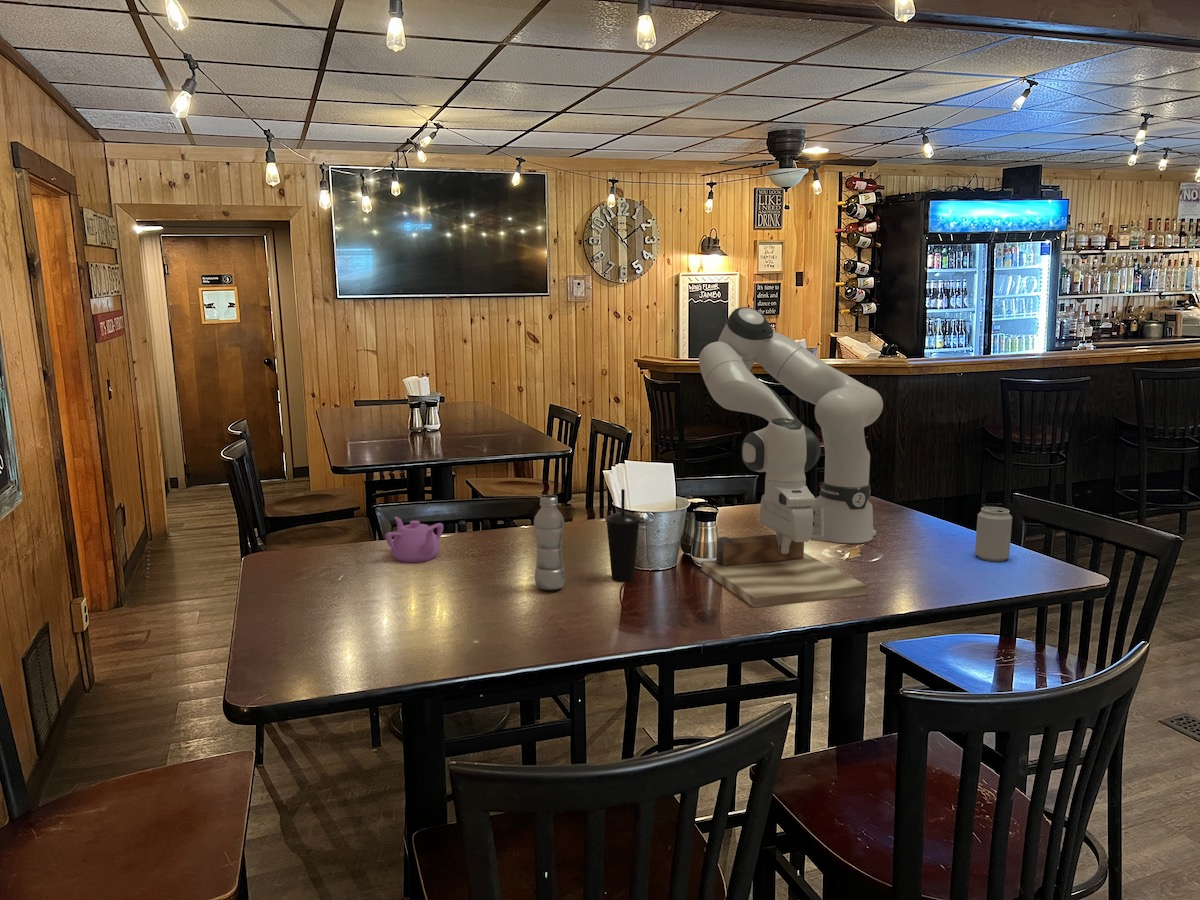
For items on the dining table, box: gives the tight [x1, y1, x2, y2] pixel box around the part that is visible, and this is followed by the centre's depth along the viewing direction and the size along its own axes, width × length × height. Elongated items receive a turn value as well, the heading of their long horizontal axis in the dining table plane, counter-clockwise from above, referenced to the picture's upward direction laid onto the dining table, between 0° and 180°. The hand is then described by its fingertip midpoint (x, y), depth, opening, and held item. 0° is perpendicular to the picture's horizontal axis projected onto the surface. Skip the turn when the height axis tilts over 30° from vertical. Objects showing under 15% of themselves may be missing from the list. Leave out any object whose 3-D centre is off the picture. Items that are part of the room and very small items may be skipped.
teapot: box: [384, 516, 444, 564], centre depth 208 cm, size 12×14×9 cm
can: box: [974, 506, 1013, 562], centre depth 206 cm, size 8×8×12 cm
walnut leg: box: [715, 533, 805, 566], centre depth 197 cm, size 21×4×6 cm, turn 108°
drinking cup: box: [604, 488, 641, 583], centre depth 190 cm, size 8×8×20 cm
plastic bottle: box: [533, 494, 566, 591], centre depth 183 cm, size 6×7×20 cm
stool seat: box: [700, 552, 869, 608], centre depth 189 cm, size 26×26×5 cm
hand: (783, 552), depth 195 cm, fingers closed
